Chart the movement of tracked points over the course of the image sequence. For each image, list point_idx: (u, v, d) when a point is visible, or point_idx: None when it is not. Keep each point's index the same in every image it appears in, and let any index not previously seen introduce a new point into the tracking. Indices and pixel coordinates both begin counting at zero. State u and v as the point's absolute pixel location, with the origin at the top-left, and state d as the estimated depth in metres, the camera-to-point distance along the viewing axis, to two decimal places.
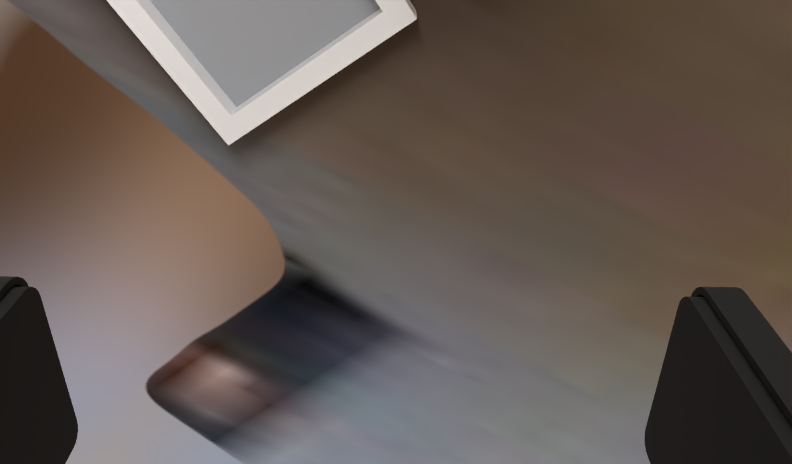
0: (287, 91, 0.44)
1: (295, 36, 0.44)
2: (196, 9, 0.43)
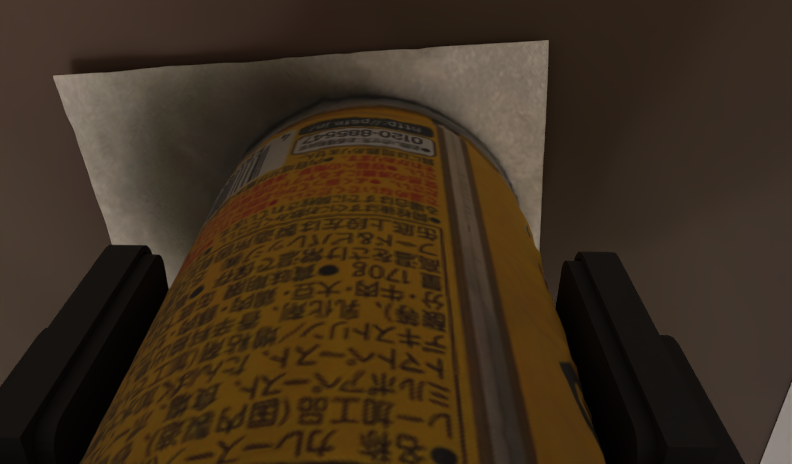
0: None
1: None
2: None
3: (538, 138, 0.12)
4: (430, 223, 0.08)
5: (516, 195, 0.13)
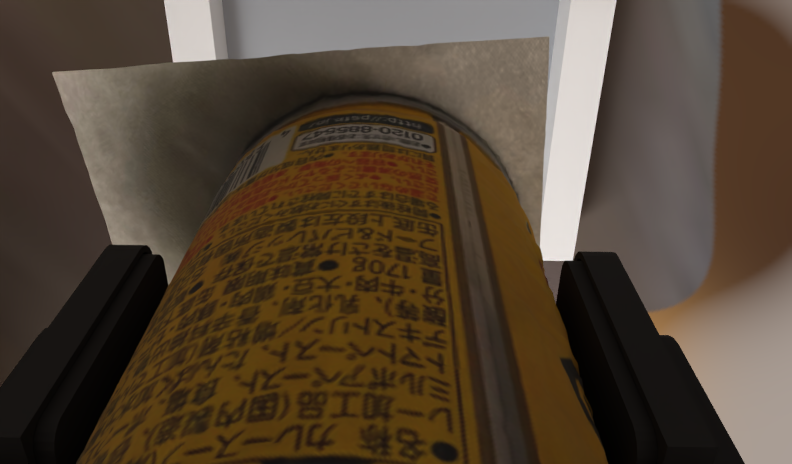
0: None
1: None
2: None
3: (538, 135, 0.12)
4: (430, 219, 0.08)
5: (516, 192, 0.13)
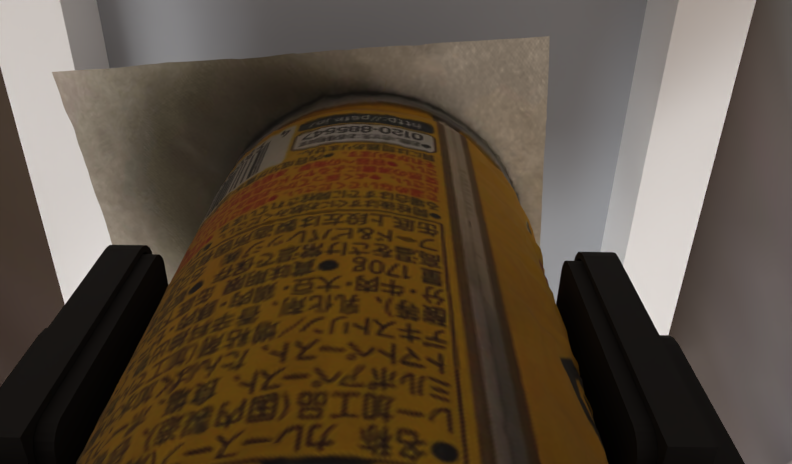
0: None
1: None
2: None
3: (539, 135, 0.12)
4: (430, 219, 0.08)
5: (517, 192, 0.13)
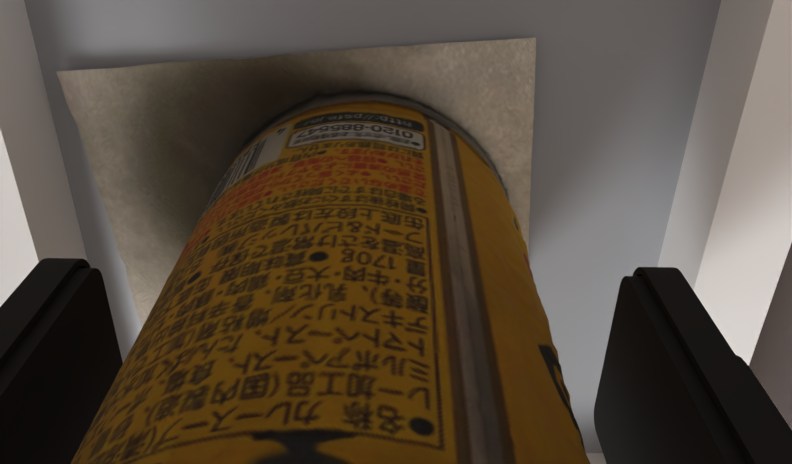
0: None
1: None
2: (566, 217, 0.14)
3: (526, 132, 0.13)
4: (417, 213, 0.09)
5: (505, 188, 0.13)
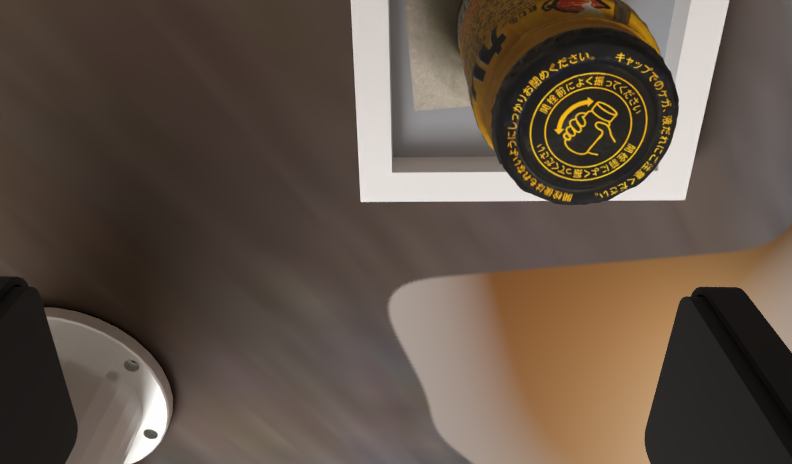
0: None
1: None
2: None
3: None
4: None
5: None
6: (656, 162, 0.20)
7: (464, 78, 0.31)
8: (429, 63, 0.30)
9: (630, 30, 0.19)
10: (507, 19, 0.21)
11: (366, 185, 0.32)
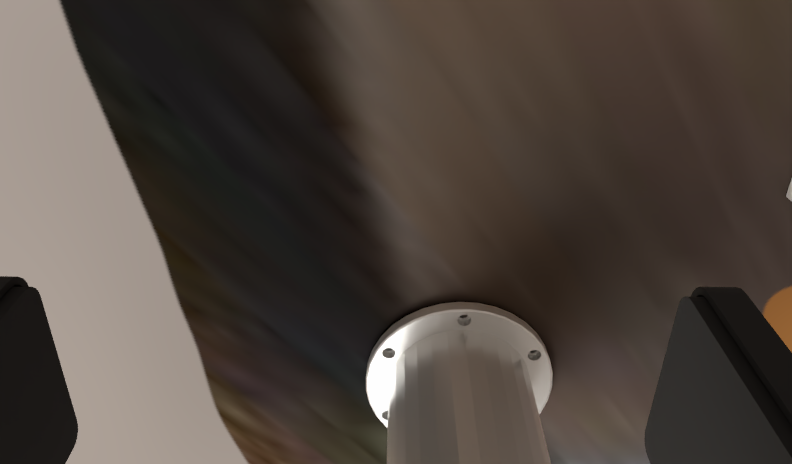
0: None
1: None
2: None
3: None
4: None
5: None
6: None
7: None
8: None
9: None
10: None
11: None
